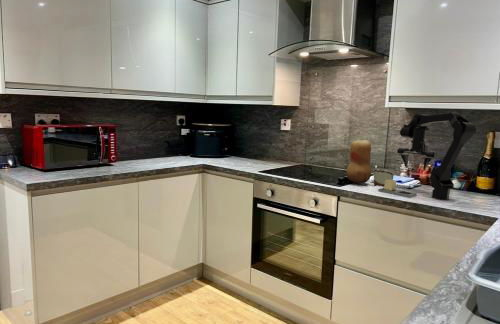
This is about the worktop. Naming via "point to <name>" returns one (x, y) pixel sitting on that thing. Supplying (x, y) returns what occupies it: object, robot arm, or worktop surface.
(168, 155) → the worktop surface
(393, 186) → the light wood beam
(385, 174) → the food container
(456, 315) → the worktop surface
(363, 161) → the butternut squash
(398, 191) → the grey slotted board
